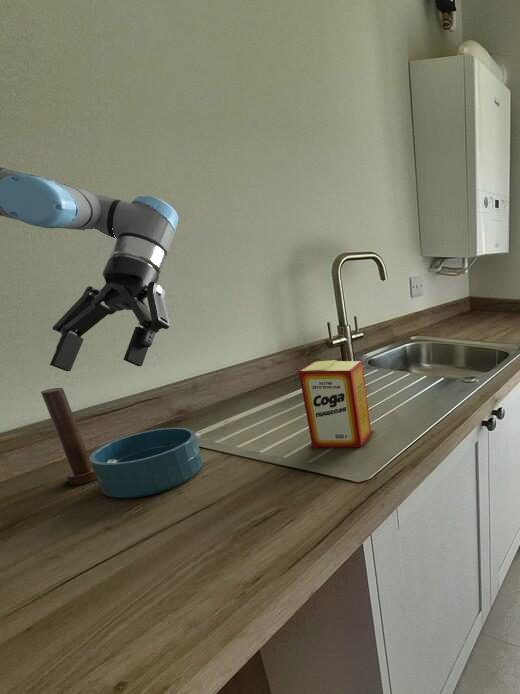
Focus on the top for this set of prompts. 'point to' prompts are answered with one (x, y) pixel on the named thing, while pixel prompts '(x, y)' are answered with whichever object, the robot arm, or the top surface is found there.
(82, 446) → the stirring stick
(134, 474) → the bowl
